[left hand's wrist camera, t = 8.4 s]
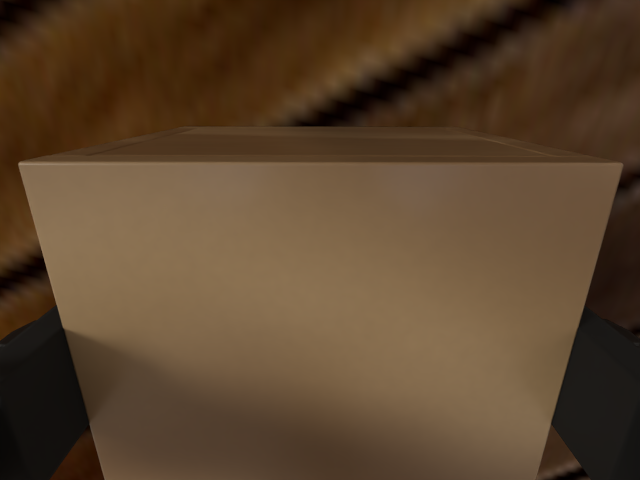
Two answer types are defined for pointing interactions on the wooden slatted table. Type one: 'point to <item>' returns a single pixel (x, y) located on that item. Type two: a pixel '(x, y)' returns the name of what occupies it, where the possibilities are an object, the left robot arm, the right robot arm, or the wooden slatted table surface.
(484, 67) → the wooden slatted table surface
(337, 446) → the cabinet
